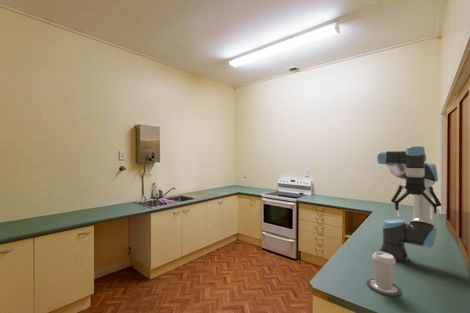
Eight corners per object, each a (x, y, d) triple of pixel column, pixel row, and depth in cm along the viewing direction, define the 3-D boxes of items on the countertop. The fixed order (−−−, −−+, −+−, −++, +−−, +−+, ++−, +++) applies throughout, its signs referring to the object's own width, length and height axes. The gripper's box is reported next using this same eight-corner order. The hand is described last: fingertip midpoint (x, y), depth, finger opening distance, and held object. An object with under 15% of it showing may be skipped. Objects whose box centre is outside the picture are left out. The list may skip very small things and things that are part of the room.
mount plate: (365, 277, 119) (365, 275, 119) (397, 284, 113) (397, 282, 113) (368, 291, 106) (368, 289, 106) (404, 299, 100) (404, 297, 100)
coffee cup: (385, 280, 114) (386, 250, 114) (400, 291, 105) (400, 259, 105) (367, 280, 114) (367, 250, 114) (380, 291, 104) (381, 259, 104)
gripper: (387, 175, 118) (387, 216, 118) (450, 178, 107) (450, 223, 107) (384, 175, 125) (384, 213, 124) (443, 177, 114) (443, 219, 114)
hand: (415, 218), depth 116 cm, fingers open, 13 cm apart
